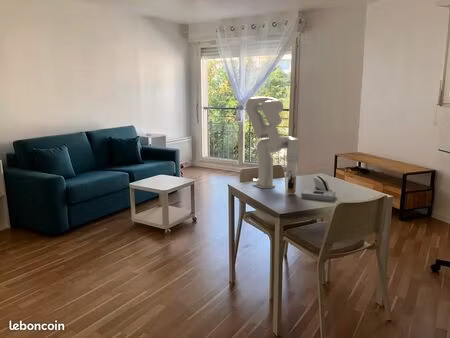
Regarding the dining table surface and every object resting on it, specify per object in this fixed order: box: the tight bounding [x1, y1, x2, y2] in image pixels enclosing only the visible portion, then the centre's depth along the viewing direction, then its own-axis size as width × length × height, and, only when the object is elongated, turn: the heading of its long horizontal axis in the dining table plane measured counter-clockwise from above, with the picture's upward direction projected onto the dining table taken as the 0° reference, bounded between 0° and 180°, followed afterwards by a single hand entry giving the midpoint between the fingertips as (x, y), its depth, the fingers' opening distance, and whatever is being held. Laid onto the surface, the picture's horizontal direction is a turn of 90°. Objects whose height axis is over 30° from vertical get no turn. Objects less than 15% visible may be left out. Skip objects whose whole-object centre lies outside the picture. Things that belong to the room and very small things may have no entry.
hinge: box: [312, 175, 333, 192], centre depth 239 cm, size 17×5×10 cm, turn 7°
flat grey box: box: [301, 188, 336, 202], centre depth 223 cm, size 18×10×3 cm, turn 65°
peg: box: [287, 175, 297, 195], centre depth 229 cm, size 4×4×10 cm
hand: (291, 187), depth 229 cm, fingers closed on peg, 4 cm apart
